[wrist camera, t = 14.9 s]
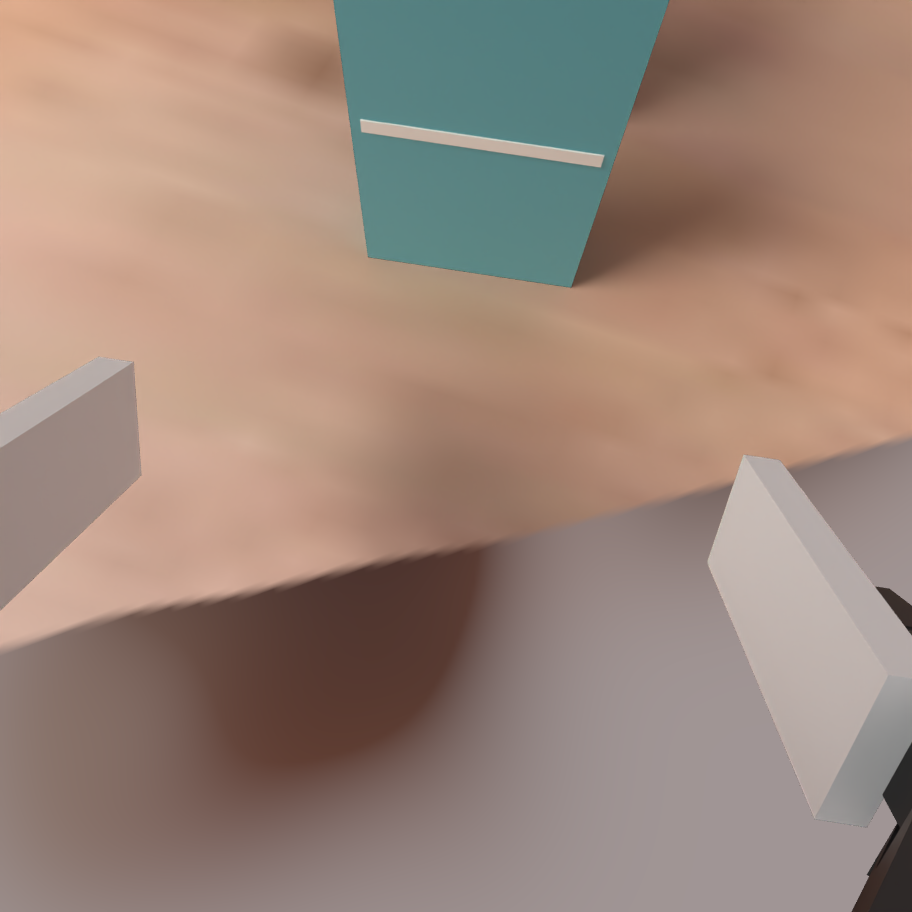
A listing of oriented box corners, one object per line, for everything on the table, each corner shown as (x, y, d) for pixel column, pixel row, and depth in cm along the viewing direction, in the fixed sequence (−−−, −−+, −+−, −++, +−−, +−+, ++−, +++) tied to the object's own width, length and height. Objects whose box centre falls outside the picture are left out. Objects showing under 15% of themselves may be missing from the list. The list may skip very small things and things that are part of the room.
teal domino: (571, 288, 25) (693, -69, 13) (367, 258, 25) (315, -123, 13) (577, 227, 25) (698, -159, 14) (381, 198, 25) (343, -209, 14)
